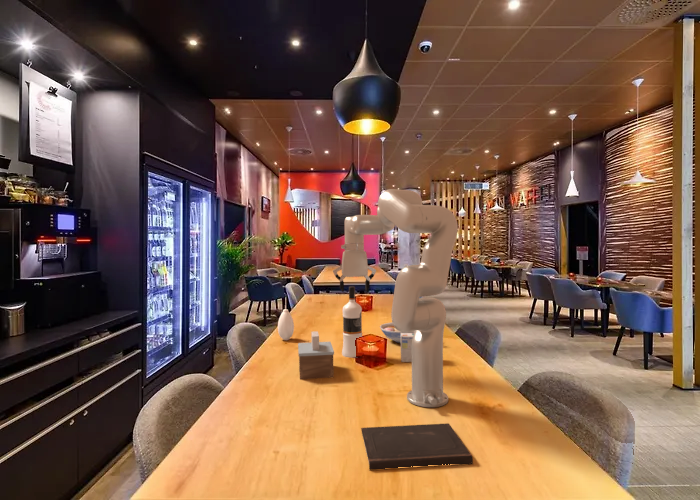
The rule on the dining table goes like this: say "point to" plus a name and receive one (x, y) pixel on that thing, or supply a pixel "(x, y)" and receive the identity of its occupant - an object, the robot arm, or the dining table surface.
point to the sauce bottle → (285, 325)
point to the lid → (315, 347)
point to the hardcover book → (414, 446)
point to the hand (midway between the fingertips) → (354, 290)
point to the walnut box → (316, 366)
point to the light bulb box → (406, 347)
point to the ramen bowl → (392, 332)
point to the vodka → (351, 324)
